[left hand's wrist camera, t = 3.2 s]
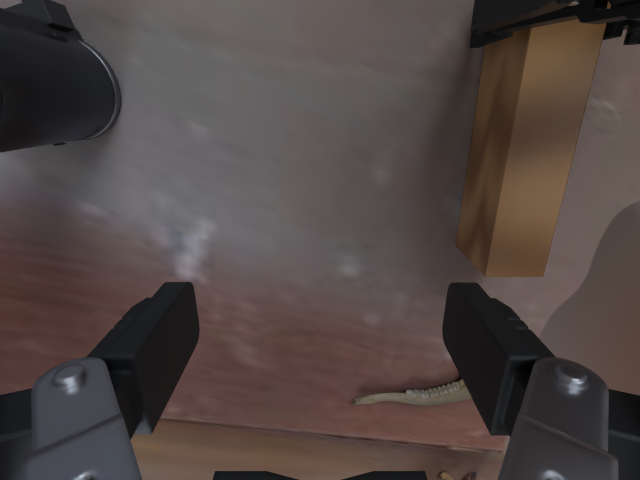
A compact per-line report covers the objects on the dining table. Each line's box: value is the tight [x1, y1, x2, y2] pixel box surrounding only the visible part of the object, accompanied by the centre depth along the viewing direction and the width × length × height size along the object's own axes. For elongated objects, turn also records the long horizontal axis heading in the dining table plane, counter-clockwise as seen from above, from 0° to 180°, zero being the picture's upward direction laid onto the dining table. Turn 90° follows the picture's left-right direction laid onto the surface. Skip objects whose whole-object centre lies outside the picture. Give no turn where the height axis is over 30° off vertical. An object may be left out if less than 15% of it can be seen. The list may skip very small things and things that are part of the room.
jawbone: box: [353, 379, 472, 406], centre depth 48 cm, size 9×20×2 cm, turn 122°
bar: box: [456, 1, 611, 277], centre depth 33 cm, size 26×6×8 cm, turn 0°
